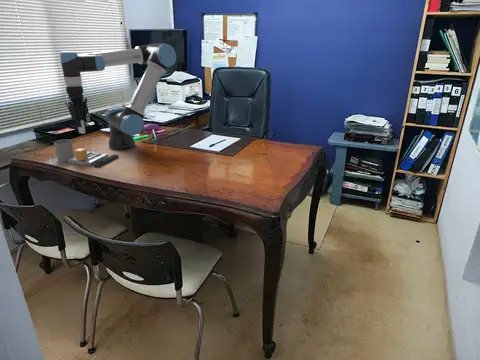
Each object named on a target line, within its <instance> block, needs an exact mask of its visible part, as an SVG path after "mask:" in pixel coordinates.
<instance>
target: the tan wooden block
mask: <svg viewBox="0 0 480 360" xmlns="http://www.w3.org/2000/svg"><path fill="white" fill-rule="evenodd" d="M73 151H74V156H75V158H76V160H80V161H83V160H85V159H87V158H88V157H87V152H88V151H87V149H86V148H80V147H79V148H77V149H75V150H74V149H73Z"/></svg>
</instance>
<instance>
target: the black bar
mask: <svg viewBox="0 0 480 360" xmlns="http://www.w3.org/2000/svg"><path fill="white" fill-rule="evenodd" d="M115 159H119V154H115V153H114V154H111V155H109V157H108V158H105V159H103V160H101V161H99V162H97V163H95V164H94V165H93V167H95V168H101V167H102V166H104V165H106V164H108V163H110V162H112V161H113V160H115Z"/></svg>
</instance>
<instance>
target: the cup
mask: <svg viewBox="0 0 480 360" xmlns="http://www.w3.org/2000/svg"><path fill="white" fill-rule="evenodd" d="M53 144H54V149H55V154H56V158H57V162H59V163H69V162H68V160H69V159H71V158H73V157H75V153H74V146H73V142H72V139H68V138H67V139H64V138H63V139H59V140H55V141H54V142H53Z"/></svg>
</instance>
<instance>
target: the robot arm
mask: <svg viewBox="0 0 480 360" xmlns="http://www.w3.org/2000/svg"><path fill="white" fill-rule="evenodd" d="M59 58H60V64H61V65H60V66H61V69H62V74H63V79H64V85H65V91H66V94H67V95H68V98H67V99H68V100H67V101H65V105H66V106H67V109H68V111H69V114H70V116H71V118H72V119H71V120H73V121H75V122H76V126H77V130H78V133H79V134H86V128H85V126H86V124H85V121H86V119H87V117H88V113H87V111H88V110H87V109H88V108H87V105H88V98H87V97H84V95H83V94H84V88H83V87H84V86H83V81H82V80H83V79H82V74H81V73H86V72H87V73H89V72H102V71H105V69H106V67H114V66H116V67H117V66H122V65H130V64H139V65H147V67H146V69H145V71H144V74H143V75H142V78H141V79H140V81H139V83H138V86H137V88H136V90H135V92H134V94H133V96H132V98H131V99H130V102H129V104H127V105H125V106H120V107H119V106H118V107H112V108H108V109H107V110H106V111H107V112H106V113H107V114H106V116H107V121H108V127H109V134H110V135H109V140H108V148H109V149H110V150H113V151H114V150H116V151H123V150H130V149H133V148H135V147H136V141H135V139H134V137H133V136H136V135H138V134H140V133H142V131H143V129H144V125H145V123H144V119H145V117H146V115H145V111H146V108H147V106H148V104H149V102H150V100H151V99H152V96H153V94H154V92H155V90H156V87H157V86H158V83H159V81H160V79H161V78H162V76H163V74H167V71H168V70H169V68H171V67H172V66H174V65H175V63H176V62H177V54H176V51H175V49H174V48H173V47H172V45H170V44H168V43H163V42H161V43H149V44H144V45H137V46H135V48H130V49H129V48H127V49H119V50H110V51H100V52H99V51H98V52H92V53H78V52H77V51H75V50H74V51H68V50H67V51H66V50H65V51H61V52H60V53H59Z"/></svg>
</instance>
